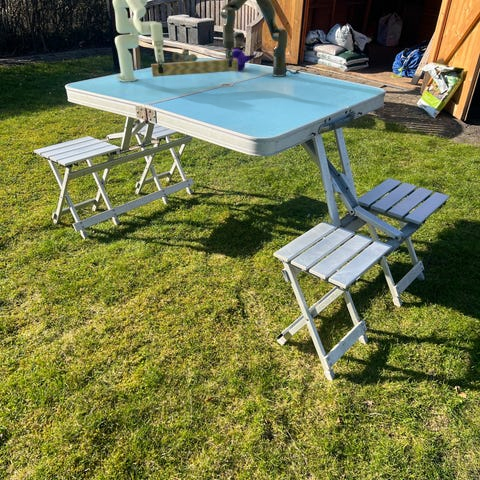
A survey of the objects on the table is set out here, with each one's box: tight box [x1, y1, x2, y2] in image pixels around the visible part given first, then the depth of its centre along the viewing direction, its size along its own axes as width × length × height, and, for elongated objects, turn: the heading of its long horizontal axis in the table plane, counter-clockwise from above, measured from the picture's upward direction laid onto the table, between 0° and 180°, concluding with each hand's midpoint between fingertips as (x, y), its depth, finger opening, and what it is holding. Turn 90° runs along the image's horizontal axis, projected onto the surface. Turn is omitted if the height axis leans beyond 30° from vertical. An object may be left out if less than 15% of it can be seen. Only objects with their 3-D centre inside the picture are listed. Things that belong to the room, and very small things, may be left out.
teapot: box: [172, 48, 198, 63], centre depth 382 cm, size 21×12×15 cm, turn 109°
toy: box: [230, 48, 258, 72], centre depth 368 cm, size 16×18×27 cm
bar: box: [150, 58, 239, 78], centre depth 309 cm, size 59×5×8 cm, turn 105°
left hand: (160, 72), depth 305 cm, fingers closed on bar, 4 cm apart
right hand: (229, 66), depth 314 cm, fingers closed on bar, 4 cm apart
